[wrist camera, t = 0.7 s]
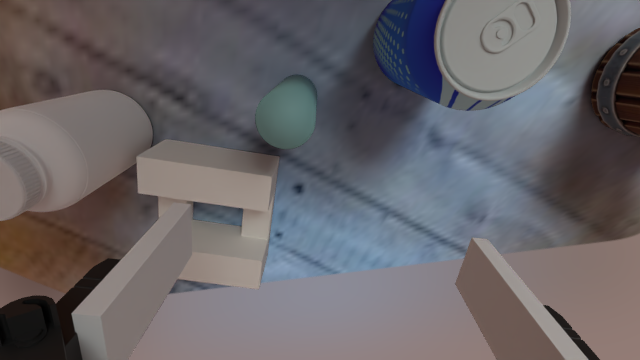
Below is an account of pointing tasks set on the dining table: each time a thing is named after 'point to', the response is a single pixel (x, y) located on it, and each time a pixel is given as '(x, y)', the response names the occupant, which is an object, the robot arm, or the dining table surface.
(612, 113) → the mug
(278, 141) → the peg
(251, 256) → the socket
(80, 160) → the pill bottle
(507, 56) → the beer can
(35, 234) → the dining table surface
